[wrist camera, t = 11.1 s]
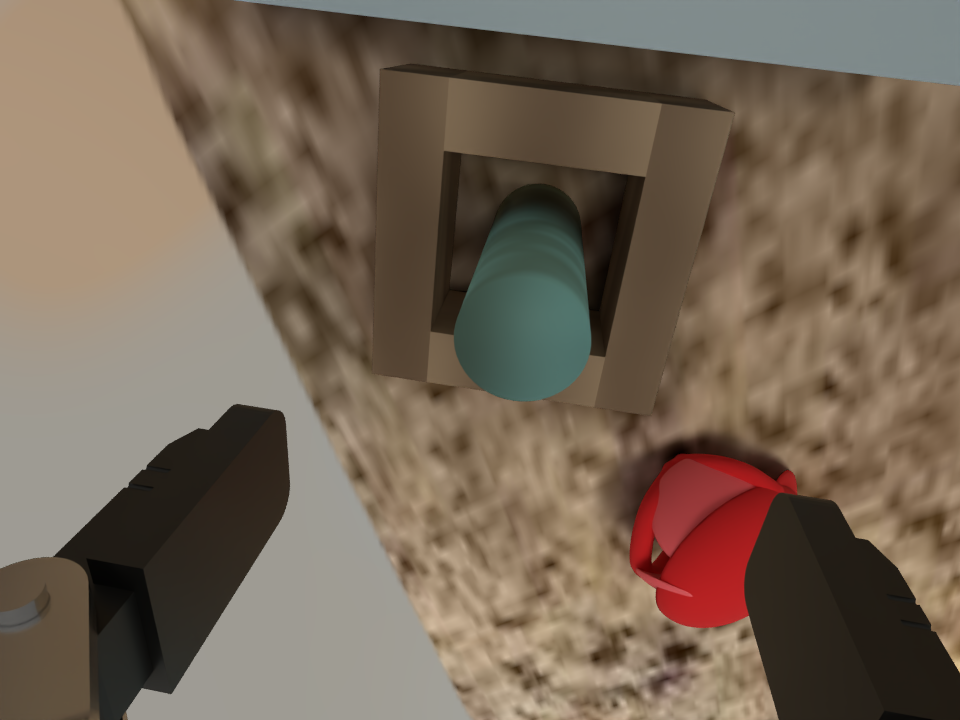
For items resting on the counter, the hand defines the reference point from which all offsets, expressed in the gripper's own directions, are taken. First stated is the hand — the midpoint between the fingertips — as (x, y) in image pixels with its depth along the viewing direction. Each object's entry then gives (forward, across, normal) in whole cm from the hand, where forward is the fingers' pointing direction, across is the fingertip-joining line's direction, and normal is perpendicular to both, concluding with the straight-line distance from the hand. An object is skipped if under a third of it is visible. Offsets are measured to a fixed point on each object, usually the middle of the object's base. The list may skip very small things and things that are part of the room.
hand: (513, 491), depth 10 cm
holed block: (+15, +1, 0) cm, 15 cm away
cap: (+15, -8, +11) cm, 21 cm away
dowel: (+15, +1, 0) cm, 15 cm away
